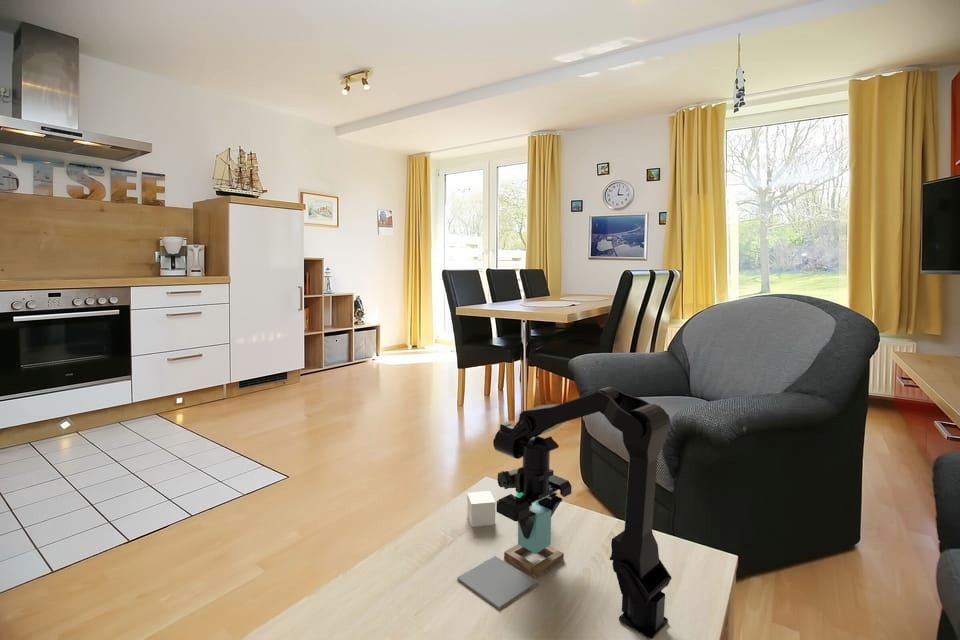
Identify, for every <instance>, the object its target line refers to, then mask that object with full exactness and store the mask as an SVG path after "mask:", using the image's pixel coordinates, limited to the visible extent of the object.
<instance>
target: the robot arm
mask: <svg viewBox="0 0 960 640" xmlns="http://www.w3.org/2000/svg"><path fill="white" fill-rule="evenodd" d="M595 413H601V414H602V415H603V416H604V417H605V418H606V419H607V421H608V422H609V423H610V425H611V426H613V427H614V429H616V430H618V431H620V432H621V434H622V443H623V444H624V448H625V449H626V451H627V454H628V457H629V458H628V472H627V474H628V475H627V485H626V486H627V487H626V503H625V516H624V517H625V518H624V529H623V530H622V531H621V532H620V533H618V534H617V535H616V536H614V537H613V538H611V554H610V557H609V561H612V562H611V563H612V564H611V565H612V569H613V572H614V573H615V576H616V578H617V581H618V586H619V589H620V594H621V595H622V597H621V612H622V614H621V615H619V616H618V621H619V622H620V623H622V624H623V625H626V626H627V627H629V628H630V629H633V630H634V631H635V632H637V633H639V634H641V635H643V636H644V637H645V638H647V639H650V640H651V639H653V638H654V637H655V636H656V635H657V634H658V633H659V632H660V631H661V630H662V629H663V628H664V627H665V626H666V625H667V624H668V622H669V619H668V617H665V608H666V607H665V603H666V594H665V593H664V592H663V590H664V589H665V588H666V587H668V586H669V584H670V582H671V580H672V576H671V574H670V573H669V571H668V569H667V568H666V566H665V565H664V564H663V562H662V560H661V559H660V554H659V544H658V542H657V540H656V539H655V538H656V537H655V536H654V534H653V521H654V508H655V495H656V494H655V493H656V483H657V469H658V468H657V467H658V458H659V456H660V453H661V452H662V449H663V447H664V445H665V443H666V441H667V436H668V433H669V429H670V427H671V418H670V415H669V414H668V413H667V412H666V411H665V409H664V408H663V407H661V406H660V405H658V404H655V403H649V402H648V401H646V400H644V399H642V398H639V397H636V396H635V395H630V394H627V393H624V392H623V391H621V390H619V389H618V388H616V387H614V386H607V387H603V388H600V389H597V390H595V391H594V392H593V393H590V394H586V395H584V396H581V397H578V398H575V399H571V400H569V401H565V402H563V403H559V404H556V403H553V404H552V403H551V404H543V405H539V406H535V407H532V408H529V409H528V408H527V409H526V410H523V411H521V412H520V413H519V414H518V415H519V417H518V421H517V422H516V424H515V425H513V424H511V423H510V422H503V423H501V424H500V425H499V429H498V430H497V432H496V433H495V436H494V439H493V448H494V451H496V452H498V453H501V454H503V455H506V456H508V457H511V458H514V459H516V460H520V459H521V458H522V466H521V467H518V468H515V469H512V470H511V469H510V470H509V471H508V470H503V471H500V472H498V473H497V484H498V487H499V488H503V489H504V490H508V489H515V492H516V493H517V492H518V493H523V496H521V498H518V497H516V495H514V494H512V493H510V494H508V495H505V496H503V497H501V498H499V499H498V500H497V501H496V507H495V513H498V514H500V515H501V516H503V517H505V518H507V519H509V520H511V521H513V522H519V524H520V527H521V530H522V533H523V536H524V538H526V539H529V536H530V534H531V530H532V527H533V523H534V520H535V516H536V513H534V512H532V511H531V507H532V504H533V503H535V502H537V501H538V503H539V505H541V506H544V507H546V508H548V509H550V510H551V518H552V517H553V515H554V513H555V512H556V510H557V509H558V507H559V505H560V504H561V503H562V502H563V498H566V497H568V496H569V495H572V487H573V486H572V484H571V483H570V481H569V480H567V479H565V478H562V477H560V476H558V475H555V474H554V469H551V468H550V463H551V462H550V458H551V457H550V455H551V454H550V453H551V452H552V451H554V450H556V449H559V447H560V446H559V444H558V442H557V441H556V440H554V439H553V437H552V436H548V437H542V436H541V435H544V434H546V433H549V432H551V431H554V430H555V429H557V428H560V427H561V426H562V425H563V424H565V423H566V422H570V421H572V420H576V419H580V418H583V417H586V416H590V415H592V414H595ZM558 490H559V495H561V496H562V497H563V498H562V497H560V496H558Z"/></svg>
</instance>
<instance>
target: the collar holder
mask: <svg viewBox="0 0 960 640" xmlns="http://www.w3.org/2000/svg"><path fill="white" fill-rule="evenodd" d="M527 551H529V550H528V549H526V548H524V547H522V546H520V545H519V544H518V543H517V544H515V545H514V546H512V547H510V548H508V549H507V550H505V551H504V552H503V556H504V557H503V558H504V560H507V562H510V563H511V564H513V565H515V566H517V567H518V568H520V569H521V570H523V571H525V572H526V573H528V574H530V575H531V576H533V577H534V578H538V577H540V576H541V575H543V574H544V573H546V572H547V571H549V570H550V569H553V567H555V566H556V565H558V564H560V563H561V562H562V561H564V559H565V558H564V556H565V553H564V552H562V551H561V550H559V549H556V548H555V547H553V546H551V545H549V546H548V547H546V548H544V549H543V550H541V551H539V552H538V553H542V554H544V555H545V556H547V557H545V558H543V560H540V561H539V562H538V563H536V564H535V563H533V562H532V561H531V560H528V559H526V558H525V557H523V556H522V554H524V553H526V552H527Z"/></svg>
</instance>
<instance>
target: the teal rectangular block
mask: <svg viewBox="0 0 960 640" xmlns="http://www.w3.org/2000/svg"><path fill="white" fill-rule="evenodd" d="M531 511H532V512H534V513H536V516H535V520H534V523H533V527H532V530H531V534H530V536H529V539H526V538H524V536H523V533H522V530H521V527H520V524H519V522H518V521H517V522H518V525H517V527H518V528H517V544H519V545H520V546H522V547H524V548H526V549H528V550H527V551H529V552H531V553H533V554H535V555H536V554H538V553H540V552H539V551H541V550H543V549H544V548H546V547H548V546H551V538H552V537H551V536H552V530H551V529H552V517H551V510H550V509H548V508H546V507H544V506H541V505H539V504H537V503H533V504H532V507H531Z"/></svg>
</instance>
